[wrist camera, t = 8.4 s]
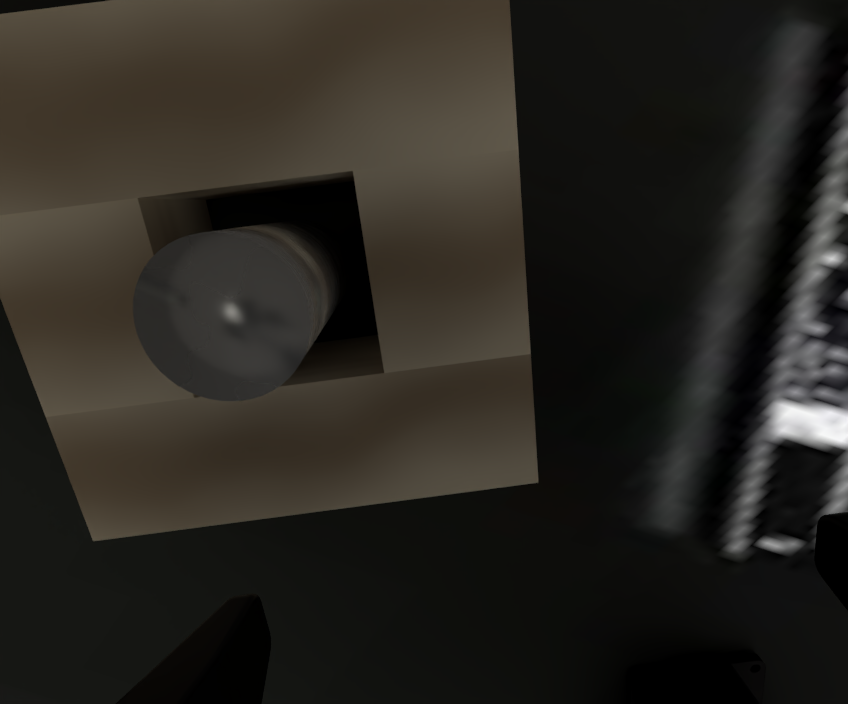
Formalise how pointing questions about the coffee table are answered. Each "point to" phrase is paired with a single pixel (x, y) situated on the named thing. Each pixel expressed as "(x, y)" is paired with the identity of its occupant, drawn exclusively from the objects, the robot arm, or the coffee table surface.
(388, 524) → the coffee table surface
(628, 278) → the coffee table surface
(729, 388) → the coffee table surface
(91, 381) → the socket board
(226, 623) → the robot arm
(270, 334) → the peg
